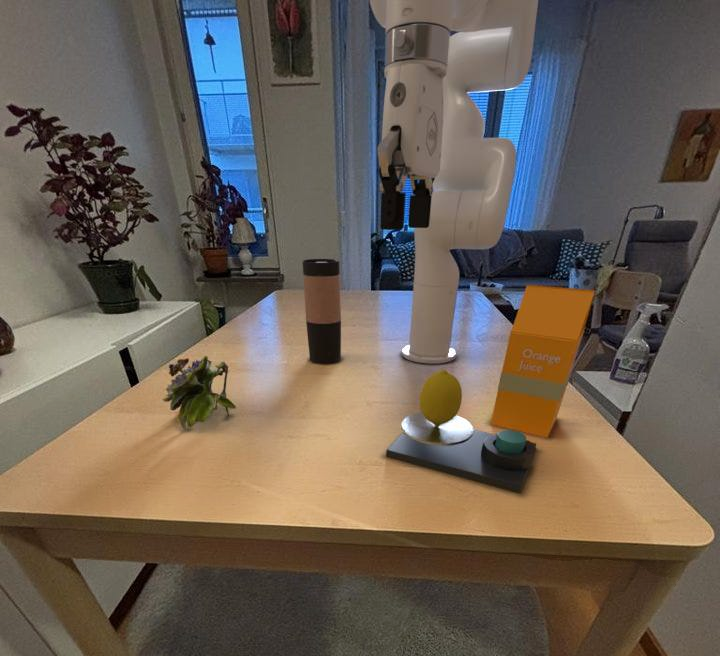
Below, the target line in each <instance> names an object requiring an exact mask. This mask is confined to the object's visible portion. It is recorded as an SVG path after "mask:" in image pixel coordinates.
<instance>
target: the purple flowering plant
mask: <svg viewBox="0 0 720 656" xmlns="http://www.w3.org/2000/svg"><path fill="white" fill-rule="evenodd" d="M189 362H190V358H189V357H186V358H179V359H177V360H176V363H170V364H169V365H168V368H169V372H168V374H169V375H170V376H171V377H174V376H175V377H174V378H173V379H170V381H171V382H170V383H171V384H167V387H166V389H165V391H166V392H167V395H165V397H163V398H162V401H163V402H165V403H166V402H167V403H169V402H170V406H169V407H170V410H171V411H176V410H177V409H179V413H178V416H179V417H178V418H179V419H178V421H179V424H180V426H181V428H182V429H183V430H184V431H186V430H187V428H192V427H193V426H195V425H196V424H197V423H204V422H205V421H207V420H208V419H209V418H210V416H211V415H212V413H213V412H214V410H217V409H218V404H219V405H221V406H222V407H224V408H225V412H226V414H227V417H228V418H229V417H230V414H229V413H230V412H229V409H236V408H237V407H236V405H235V403H233V402H232V401H231V400H230V399H229V398H228V397H227V391H226V390H227V380H228V379H227V378H228V373H229V366H228V365H227V364H226V362H225V361H224V360H223V361H220V362H219V363H218V364H216V365H215V369H213V368H212V361H211V360H209V357H208V356H207V355H204V356H203V357H202V358H201V360H199V359H198V360H195V361H192V362H191V363H192V364H191V366H190V365H188V366H187V364H188V363H189ZM186 366H187V368H186V369H184V368H185V367H186ZM179 372H180V374H179ZM218 376H224V378H223V388H222V391H221V393H217V392H214V391H213V389H212V385H213V382H214V379H215V378H216V377H218Z"/></svg>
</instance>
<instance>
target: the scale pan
mask: <svg viewBox="0 0 720 656" xmlns="http://www.w3.org/2000/svg"><path fill="white" fill-rule="evenodd" d="M401 430H402V433H403V432H404V434H405V435H407V436H408V437H409V438H411V439H413V440H415V441H418V442H420V443H424V444H428V445H435V446H451V445H457V444H461V443H464V442H466V441H468V440H469V439H470V438H471V437H472V435H473V431H474V430H475V429H474V427H473V425H472V423H470V421H468V420H467V419H465V418H464V417H462V416H459V415H457V414H456V416H455V417H454V418H453V419H452V420H450V421H449V422H447V423H443V424H441V425H440V426H435V425H434V424H433V423H432V422H430V421H428V420H427V419H426V418H425V417H424V416H423V414H422V412H421V411H419V412H415V413H412V414H410V415H407V416H406V417H405V418H403V420H402V422H401Z"/></svg>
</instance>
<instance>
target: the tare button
mask: <svg viewBox="0 0 720 656" xmlns="http://www.w3.org/2000/svg"><path fill="white" fill-rule="evenodd" d="M496 434H497V438H496V443H495V448H496V449H498V450H500V451H502V452H506V453H510V454H520V453H522V452H523V450H524V446H525V443H526V440H527V437H526V435H525V434H524V433H523V432H521V431H518V430H514V429H504V430H500V431H499V432H497V433H496Z"/></svg>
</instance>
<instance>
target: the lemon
mask: <svg viewBox="0 0 720 656" xmlns="http://www.w3.org/2000/svg"><path fill="white" fill-rule="evenodd" d="M462 394H463V393H462V386H461V383H460V382H459V379H458V378H457V377H456V376H455V375H454V374H452V373H450V372H449V371H448V370H447V369H441V370H440V371H437V372H435V373H432V374H431V375H429V377H428V378H426V380H425V381H424V383H423V385H422V386H421V389H420V394H419V408H420V412H422V414H423V416H424V417H425V418H426V419H427V420H428V421H430V422H432V423H433V424H434V425H435V426H440V425H441V424H443V423H447V422H449V421H450V420H452V419H453V418H454V417H455V416H456V415H457V414H459V411H460V408H461V404H462V399H463V398H462V397H463V395H462Z"/></svg>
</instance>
